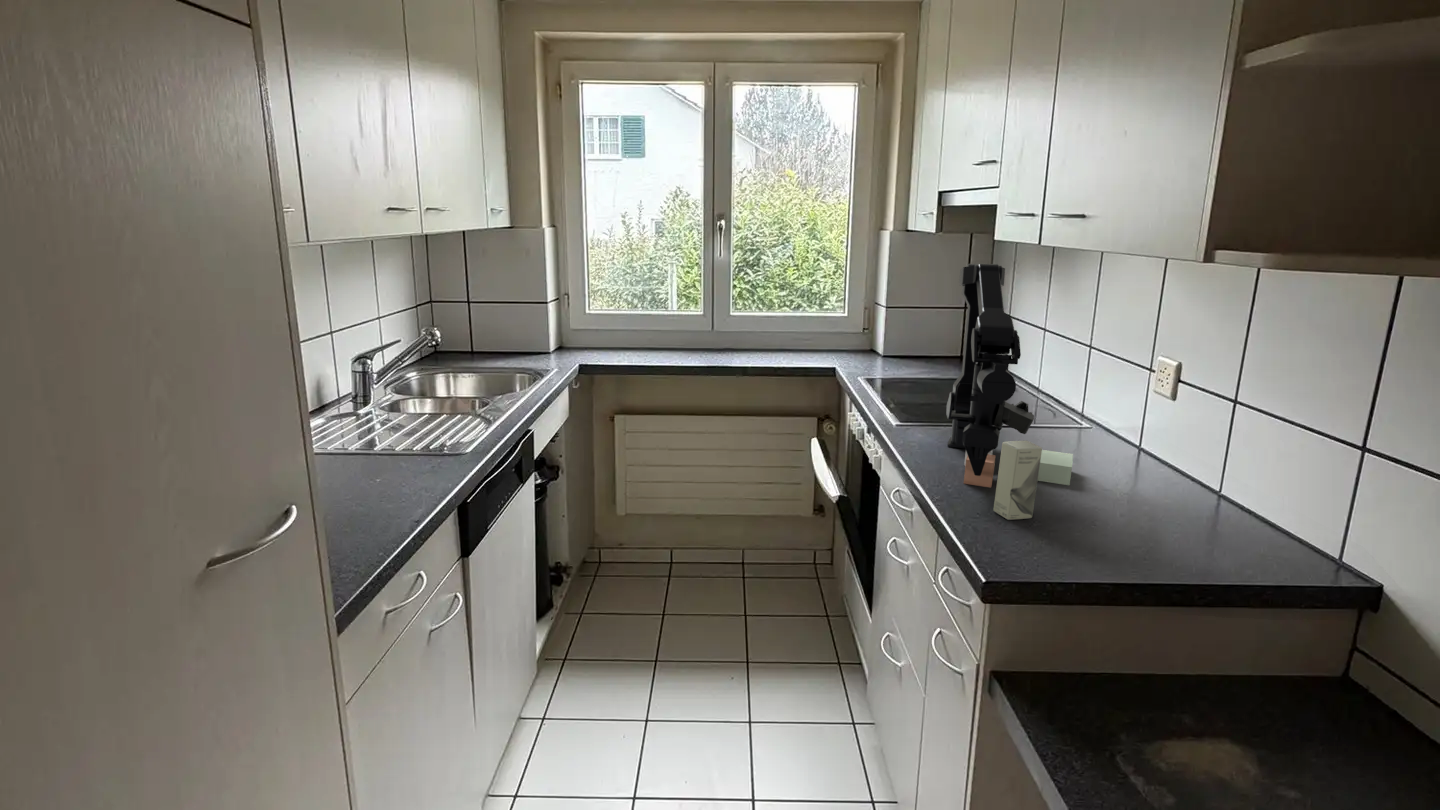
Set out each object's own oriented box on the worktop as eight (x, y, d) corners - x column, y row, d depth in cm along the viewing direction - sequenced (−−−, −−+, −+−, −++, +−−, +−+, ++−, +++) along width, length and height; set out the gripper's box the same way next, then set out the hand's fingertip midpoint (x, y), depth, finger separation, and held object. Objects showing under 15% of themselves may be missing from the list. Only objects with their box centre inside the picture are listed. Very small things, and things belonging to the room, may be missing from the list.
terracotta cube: (966, 475, 153) (968, 451, 152) (992, 479, 151) (995, 455, 150) (963, 483, 149) (966, 459, 147) (990, 488, 147) (993, 463, 145)
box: (1007, 521, 131) (1016, 449, 128) (992, 511, 135) (1000, 441, 132) (1034, 518, 133) (1043, 446, 129) (1018, 508, 137) (1027, 439, 133)
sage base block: (1023, 465, 160) (1025, 447, 159) (1070, 472, 157) (1073, 454, 156) (1019, 479, 152) (1021, 460, 151) (1069, 486, 149) (1072, 467, 148)
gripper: (1033, 405, 134) (1022, 490, 138) (1035, 383, 151) (1025, 459, 155) (966, 398, 138) (957, 481, 142) (975, 377, 155) (967, 452, 159)
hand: (979, 468), depth 149 cm, fingers open, 9 cm apart
